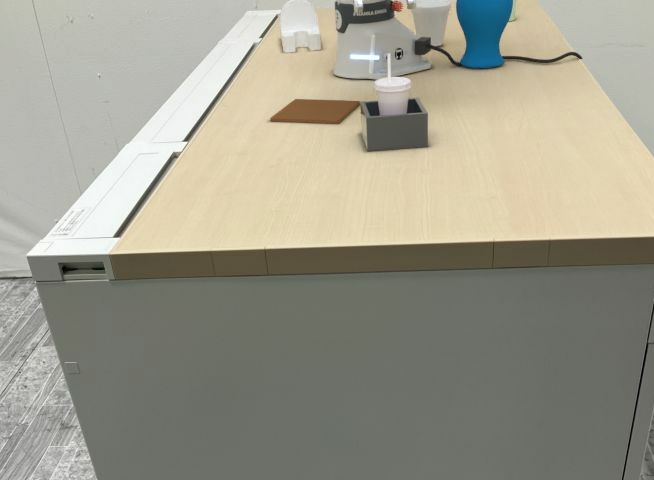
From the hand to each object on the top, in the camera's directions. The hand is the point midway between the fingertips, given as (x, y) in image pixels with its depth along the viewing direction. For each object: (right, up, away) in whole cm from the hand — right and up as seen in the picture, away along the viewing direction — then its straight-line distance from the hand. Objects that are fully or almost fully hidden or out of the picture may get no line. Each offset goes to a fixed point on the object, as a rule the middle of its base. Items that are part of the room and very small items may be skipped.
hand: (385, 8), depth 145 cm
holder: (+2, -22, +3) cm, 22 cm away
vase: (+24, +13, +44) cm, 51 cm away
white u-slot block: (-20, +33, +70) cm, 80 cm away
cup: (+13, +27, +61) cm, 68 cm away
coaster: (-13, -9, +19) cm, 25 cm away
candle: (+36, +46, +82) cm, 101 cm away
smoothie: (+2, -22, +3) cm, 22 cm away
